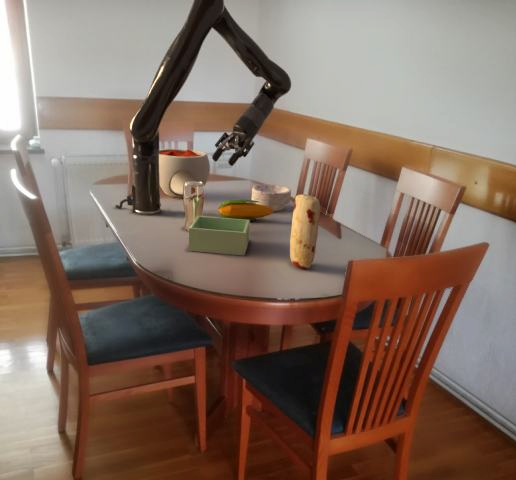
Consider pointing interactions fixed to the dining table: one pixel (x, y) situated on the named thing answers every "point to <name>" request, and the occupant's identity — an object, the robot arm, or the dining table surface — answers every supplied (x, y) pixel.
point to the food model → (304, 230)
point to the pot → (181, 169)
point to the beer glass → (193, 201)
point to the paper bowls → (271, 196)
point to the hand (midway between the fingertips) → (221, 161)
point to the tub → (219, 235)
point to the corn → (243, 210)
